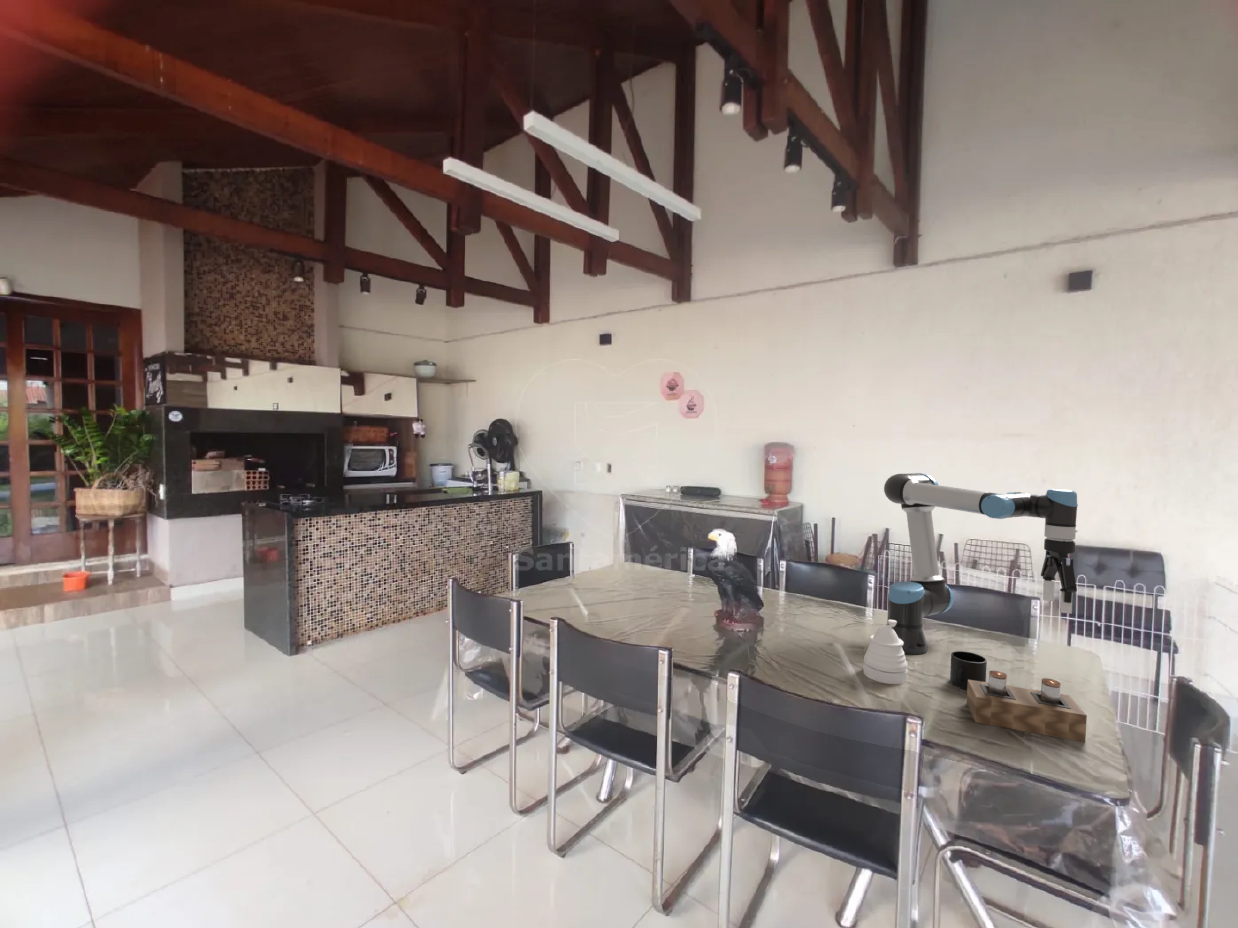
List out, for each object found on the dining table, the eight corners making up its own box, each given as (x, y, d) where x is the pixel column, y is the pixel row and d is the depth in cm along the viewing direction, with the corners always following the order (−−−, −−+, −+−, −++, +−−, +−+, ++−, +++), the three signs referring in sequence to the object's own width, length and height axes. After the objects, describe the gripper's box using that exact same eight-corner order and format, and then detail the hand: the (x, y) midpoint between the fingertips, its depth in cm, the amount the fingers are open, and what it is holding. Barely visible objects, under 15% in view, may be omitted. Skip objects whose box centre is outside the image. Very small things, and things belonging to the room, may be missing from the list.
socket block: (975, 721, 150) (976, 696, 149) (966, 702, 161) (967, 678, 160) (1085, 741, 140) (1086, 714, 140) (1068, 720, 151) (1069, 694, 151)
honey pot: (889, 666, 186) (891, 613, 186) (916, 682, 174) (918, 626, 173) (855, 668, 184) (857, 615, 183) (879, 685, 172) (881, 628, 171)
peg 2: (1043, 708, 147) (1044, 683, 147) (1038, 702, 151) (1039, 677, 150) (1061, 711, 145) (1062, 685, 145) (1056, 705, 149) (1057, 679, 149)
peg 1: (990, 699, 152) (991, 674, 151) (986, 693, 155) (987, 669, 155) (1007, 702, 150) (1008, 677, 150) (1003, 696, 154) (1004, 671, 153)
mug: (941, 685, 172) (943, 657, 171) (956, 675, 179) (957, 648, 179) (976, 697, 164) (977, 667, 164) (989, 686, 172) (991, 657, 172)
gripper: (1093, 547, 158) (1089, 619, 159) (1058, 533, 181) (1055, 597, 182) (1061, 544, 160) (1058, 616, 161) (1031, 532, 184) (1028, 594, 185)
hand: (1056, 606), depth 172 cm, fingers open, 13 cm apart
